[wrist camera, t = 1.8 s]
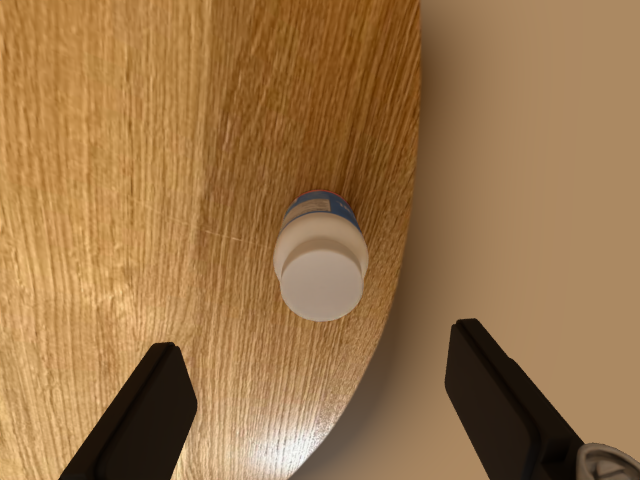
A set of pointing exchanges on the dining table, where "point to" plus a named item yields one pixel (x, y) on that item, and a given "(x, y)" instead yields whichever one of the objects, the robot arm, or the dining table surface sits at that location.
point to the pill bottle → (320, 257)
